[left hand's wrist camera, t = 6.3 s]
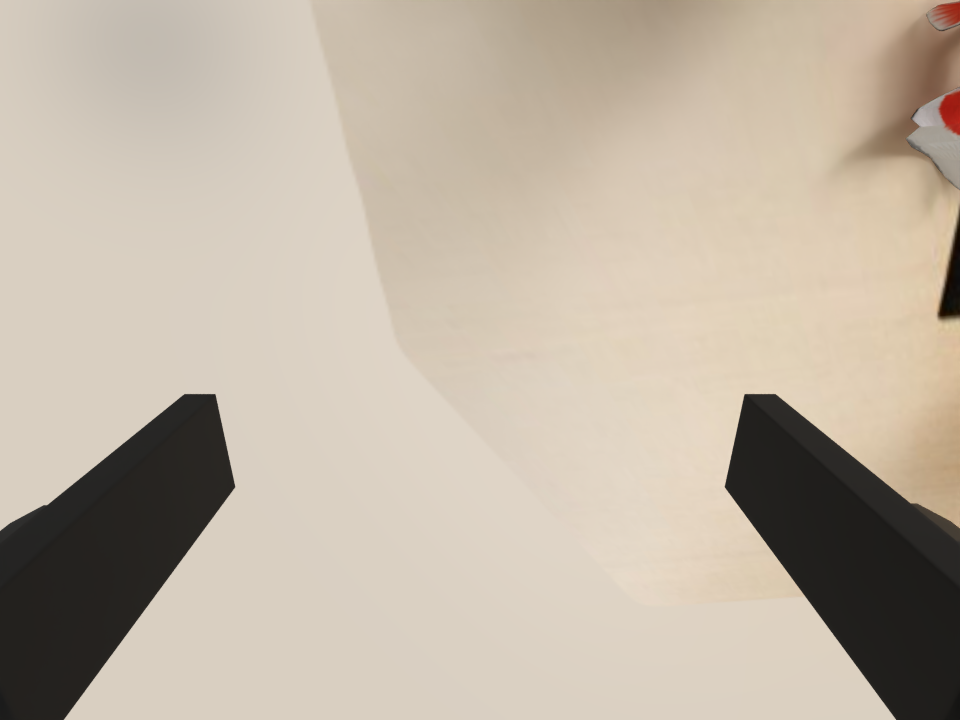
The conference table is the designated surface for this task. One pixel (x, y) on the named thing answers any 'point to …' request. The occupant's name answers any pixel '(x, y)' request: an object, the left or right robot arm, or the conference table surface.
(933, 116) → the fish
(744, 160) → the conference table surface
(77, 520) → the left robot arm
